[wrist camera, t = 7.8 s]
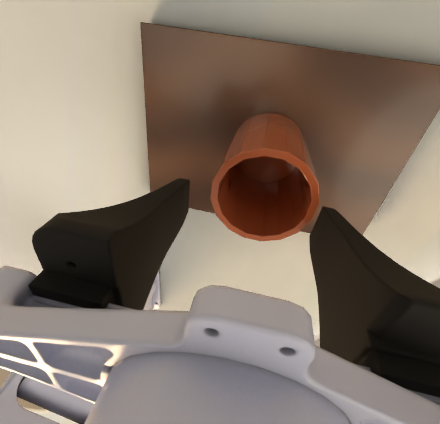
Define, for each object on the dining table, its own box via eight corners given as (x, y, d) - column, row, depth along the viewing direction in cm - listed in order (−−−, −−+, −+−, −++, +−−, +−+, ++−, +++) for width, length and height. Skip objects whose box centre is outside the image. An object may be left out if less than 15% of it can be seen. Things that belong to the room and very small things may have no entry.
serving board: (353, 233, 24) (357, 243, 22) (156, 192, 25) (150, 200, 24) (449, 67, 15) (464, 69, 14) (149, 23, 17) (140, 22, 16)
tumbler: (292, 188, 21) (299, 249, 15) (226, 176, 21) (206, 229, 15) (316, 119, 17) (337, 161, 11) (237, 106, 18) (216, 139, 12)
